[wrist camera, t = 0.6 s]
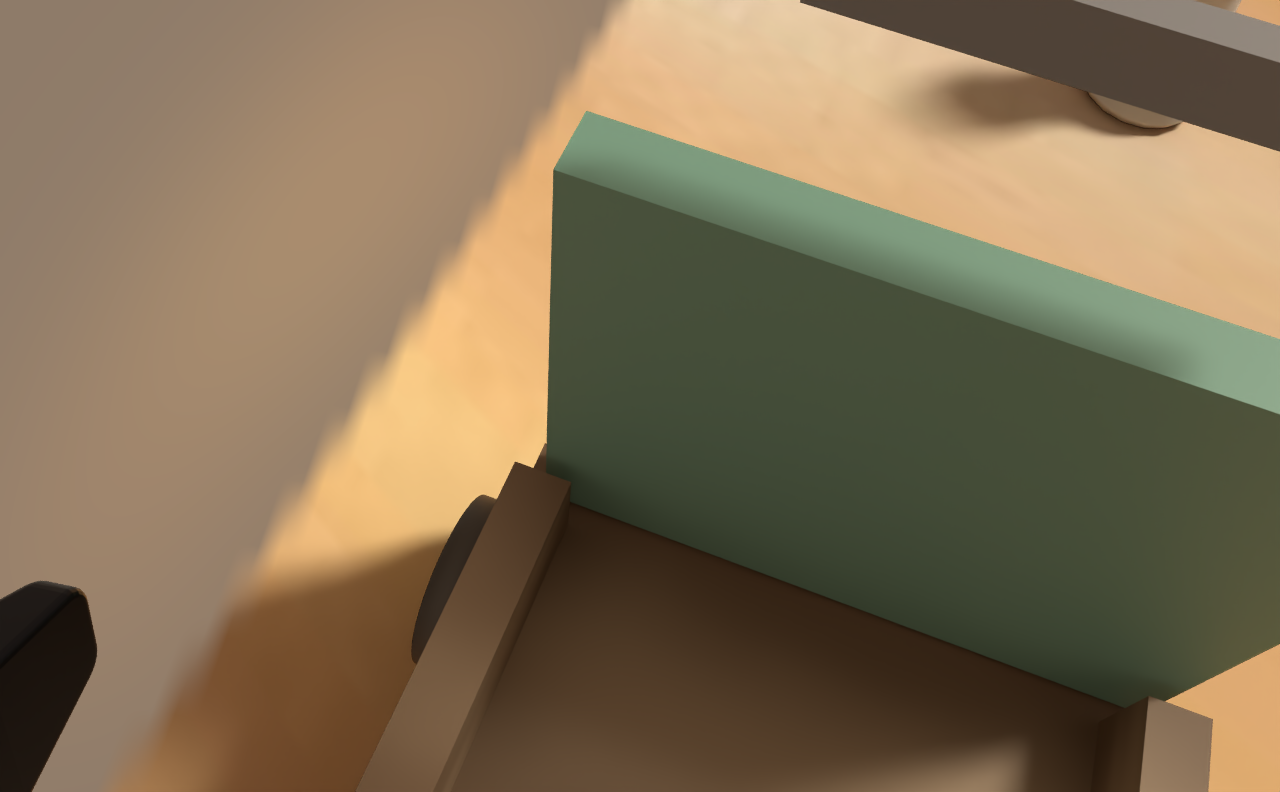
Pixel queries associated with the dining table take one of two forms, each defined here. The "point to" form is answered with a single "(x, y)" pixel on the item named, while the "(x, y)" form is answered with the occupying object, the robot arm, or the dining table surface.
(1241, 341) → the panel
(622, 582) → the cart
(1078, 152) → the dining table surface
